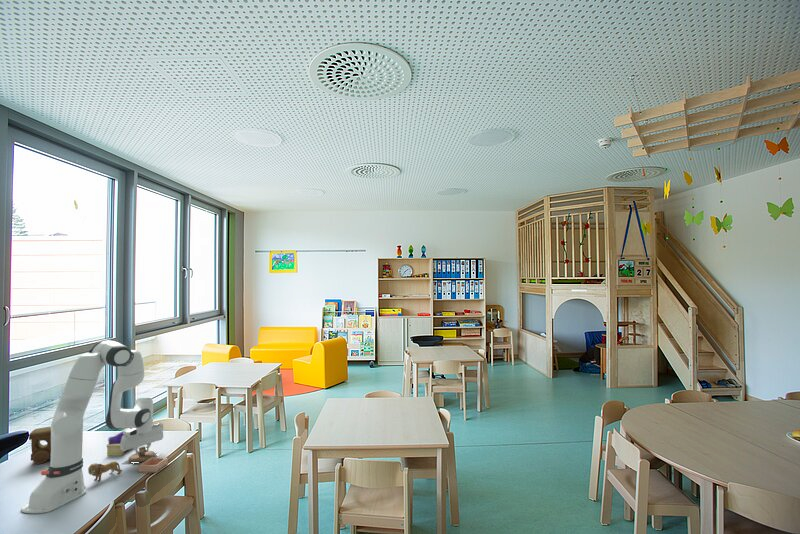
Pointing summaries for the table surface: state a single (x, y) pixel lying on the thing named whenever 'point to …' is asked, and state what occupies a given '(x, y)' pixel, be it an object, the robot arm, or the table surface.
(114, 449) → the toy sofa
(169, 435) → the table surface
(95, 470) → the lion figurine
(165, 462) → the open box
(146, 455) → the lid
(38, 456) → the wooden toy train
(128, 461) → the mat
